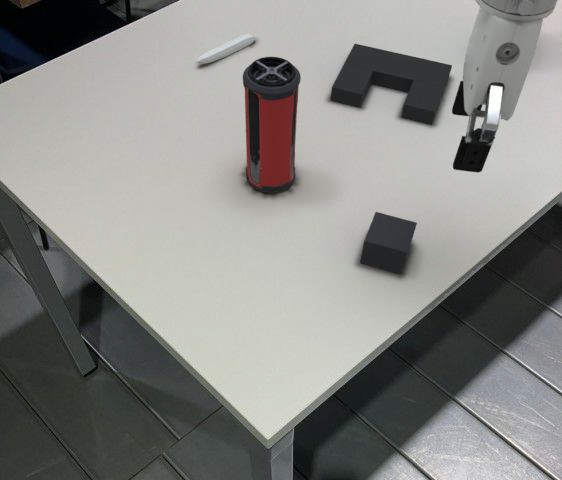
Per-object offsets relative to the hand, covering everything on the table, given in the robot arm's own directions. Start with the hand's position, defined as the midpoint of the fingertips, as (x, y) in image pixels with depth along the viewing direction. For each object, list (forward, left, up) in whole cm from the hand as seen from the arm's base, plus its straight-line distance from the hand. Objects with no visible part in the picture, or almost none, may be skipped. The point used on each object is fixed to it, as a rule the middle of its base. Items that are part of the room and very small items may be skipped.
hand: (465, 141), depth 71 cm
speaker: (+27, -8, -21) cm, 35 cm away
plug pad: (+6, +1, -21) cm, 21 cm away
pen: (+46, -36, -21) cm, 62 cm away
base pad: (+15, -37, -21) cm, 45 cm away
